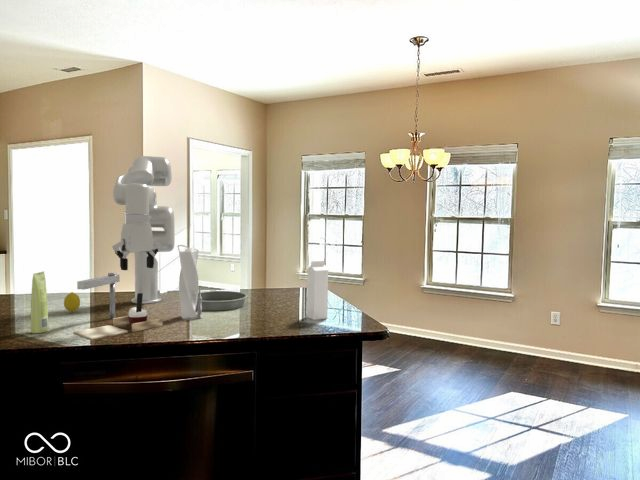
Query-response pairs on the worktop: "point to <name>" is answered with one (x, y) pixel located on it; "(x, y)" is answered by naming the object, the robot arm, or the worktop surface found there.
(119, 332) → the pad
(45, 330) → the tube
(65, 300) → the lemon
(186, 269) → the skyscraper
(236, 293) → the cake pan
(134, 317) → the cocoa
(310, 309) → the milk
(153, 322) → the holder
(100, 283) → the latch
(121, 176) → the robot arm
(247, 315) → the worktop surface
